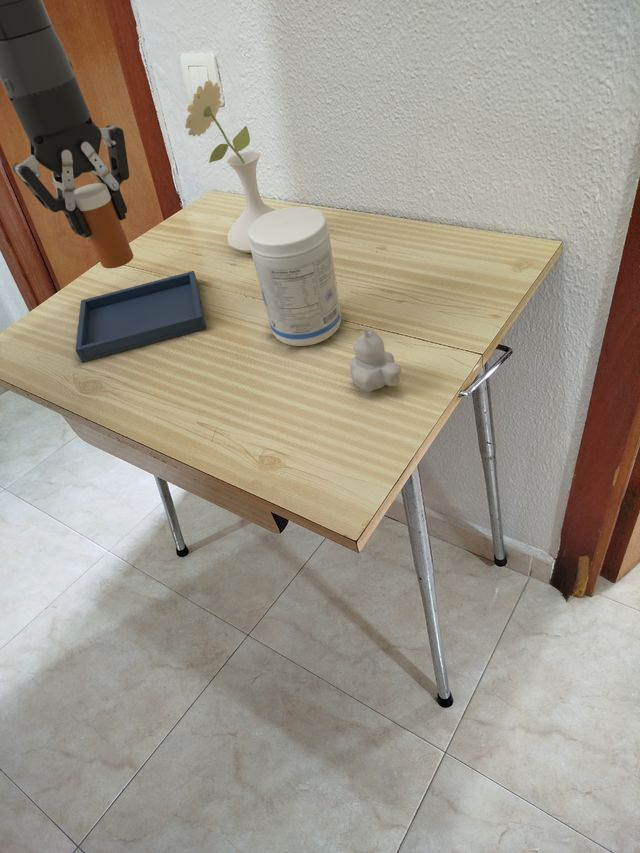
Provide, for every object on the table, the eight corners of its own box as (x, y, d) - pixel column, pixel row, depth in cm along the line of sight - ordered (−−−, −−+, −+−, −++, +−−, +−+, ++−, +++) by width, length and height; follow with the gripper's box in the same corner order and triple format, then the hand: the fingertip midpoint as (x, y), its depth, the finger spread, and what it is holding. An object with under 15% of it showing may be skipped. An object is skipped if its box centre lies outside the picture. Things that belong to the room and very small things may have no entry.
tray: (81, 362, 81) (75, 350, 79) (86, 311, 91) (80, 300, 89) (206, 328, 82) (201, 316, 81) (197, 282, 92) (193, 270, 90)
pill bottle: (99, 272, 78) (67, 202, 71) (101, 256, 81) (70, 188, 75) (134, 263, 78) (106, 193, 71) (134, 248, 81) (106, 179, 75)
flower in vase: (270, 220, 104) (234, 58, 86) (311, 237, 97) (280, 65, 79) (209, 251, 99) (157, 86, 81) (247, 271, 92) (200, 96, 74)
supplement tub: (271, 313, 82) (246, 212, 72) (338, 301, 82) (323, 198, 71) (272, 355, 75) (245, 250, 65) (346, 342, 75) (330, 234, 65)
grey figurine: (367, 363, 71) (360, 307, 66) (414, 380, 68) (411, 322, 62) (340, 389, 68) (331, 333, 63) (388, 409, 65) (382, 351, 59)
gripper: (81, 58, 70) (135, 199, 81) (-35, 99, 64) (41, 244, 76) (112, 62, 65) (163, 210, 77) (-10, 106, 59) (66, 259, 71)
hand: (102, 226), depth 76 cm, fingers closed on pill bottle, 4 cm apart
